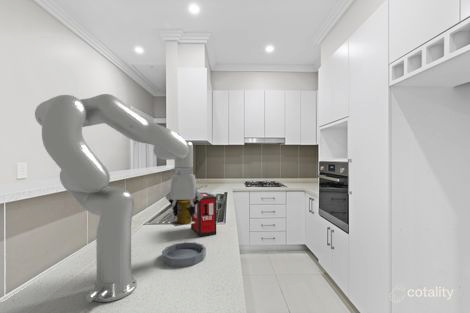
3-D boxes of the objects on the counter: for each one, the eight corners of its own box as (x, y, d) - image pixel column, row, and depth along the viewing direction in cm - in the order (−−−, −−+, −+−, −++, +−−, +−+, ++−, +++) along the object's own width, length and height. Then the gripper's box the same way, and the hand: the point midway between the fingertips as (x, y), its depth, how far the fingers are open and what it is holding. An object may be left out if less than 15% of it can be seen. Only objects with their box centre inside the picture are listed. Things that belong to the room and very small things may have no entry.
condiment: (195, 223, 94) (195, 193, 94) (175, 226, 90) (175, 195, 90) (188, 219, 100) (188, 191, 100) (169, 222, 96) (169, 193, 96)
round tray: (199, 267, 85) (199, 259, 85) (155, 265, 87) (155, 257, 87) (209, 249, 102) (209, 242, 102) (171, 248, 104) (171, 241, 104)
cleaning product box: (216, 234, 122) (216, 196, 122) (200, 237, 118) (200, 198, 118) (205, 226, 137) (205, 192, 137) (191, 228, 133) (191, 193, 133)
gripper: (159, 172, 92) (160, 217, 92) (202, 172, 90) (202, 218, 90) (167, 171, 100) (167, 212, 99) (206, 171, 98) (206, 213, 98)
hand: (184, 215), depth 95 cm, fingers closed on condiment, 6 cm apart
